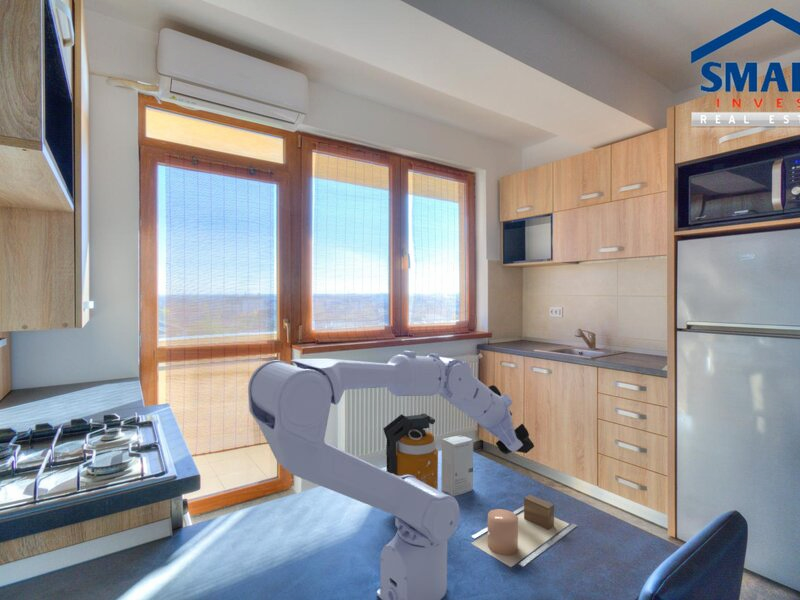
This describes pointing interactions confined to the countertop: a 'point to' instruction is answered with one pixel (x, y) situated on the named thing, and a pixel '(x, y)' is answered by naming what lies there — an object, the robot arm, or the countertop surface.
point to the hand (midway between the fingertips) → (517, 431)
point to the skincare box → (457, 465)
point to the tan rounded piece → (502, 532)
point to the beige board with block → (529, 530)
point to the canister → (412, 448)
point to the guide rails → (539, 548)
